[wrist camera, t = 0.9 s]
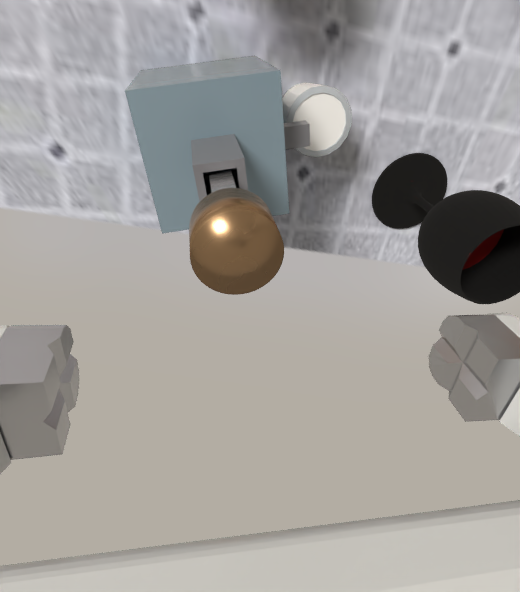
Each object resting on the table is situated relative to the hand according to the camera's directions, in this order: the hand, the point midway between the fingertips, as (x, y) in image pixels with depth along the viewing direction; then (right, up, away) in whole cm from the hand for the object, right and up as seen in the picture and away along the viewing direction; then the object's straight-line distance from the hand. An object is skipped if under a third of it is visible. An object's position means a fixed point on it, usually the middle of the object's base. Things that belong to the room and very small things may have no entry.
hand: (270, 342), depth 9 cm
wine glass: (+20, +15, +46) cm, 52 cm away
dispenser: (-5, +21, +37) cm, 43 cm away
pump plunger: (-3, +9, +21) cm, 23 cm away
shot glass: (+5, +23, +38) cm, 45 cm away
